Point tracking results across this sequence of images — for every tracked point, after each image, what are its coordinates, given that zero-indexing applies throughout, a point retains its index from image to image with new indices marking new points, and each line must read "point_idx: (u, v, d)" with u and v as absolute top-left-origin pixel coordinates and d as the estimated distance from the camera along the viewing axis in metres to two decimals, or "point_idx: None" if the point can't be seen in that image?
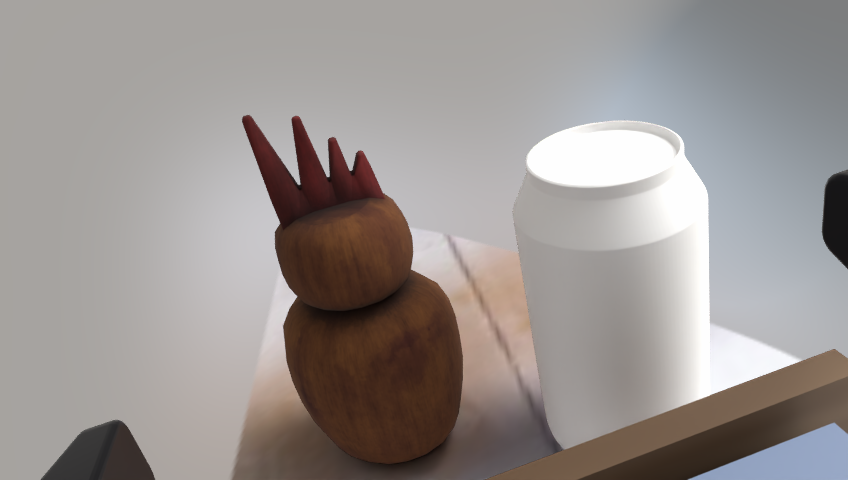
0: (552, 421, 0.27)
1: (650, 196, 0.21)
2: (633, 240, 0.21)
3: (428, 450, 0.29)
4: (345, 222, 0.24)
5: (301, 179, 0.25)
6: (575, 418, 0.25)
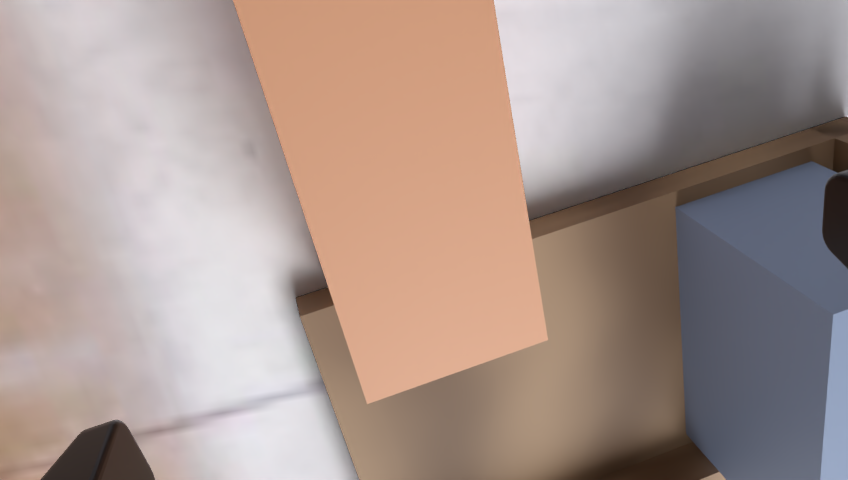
0: None
1: None
2: None
3: None
4: None
5: None
6: None
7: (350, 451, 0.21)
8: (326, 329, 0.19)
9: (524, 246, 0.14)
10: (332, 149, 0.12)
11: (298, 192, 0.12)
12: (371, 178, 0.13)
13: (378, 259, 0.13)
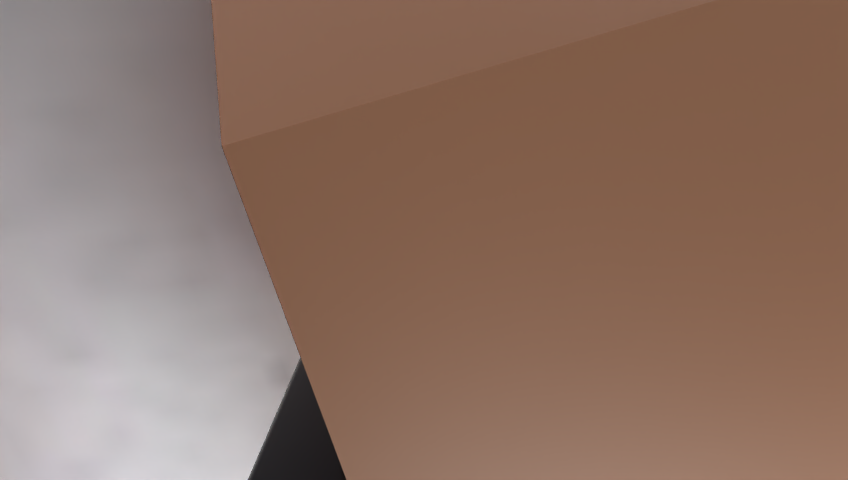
0: None
1: None
2: None
3: None
4: None
5: None
6: None
7: None
8: None
9: None
10: None
11: None
12: None
13: None
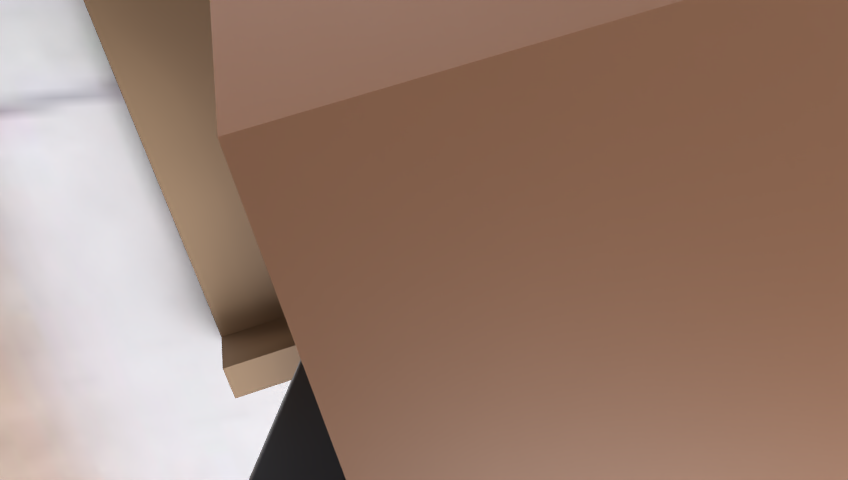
0: None
1: None
2: None
3: None
4: None
5: None
6: None
7: (155, 170, 0.17)
8: None
9: None
10: None
11: None
12: None
13: None
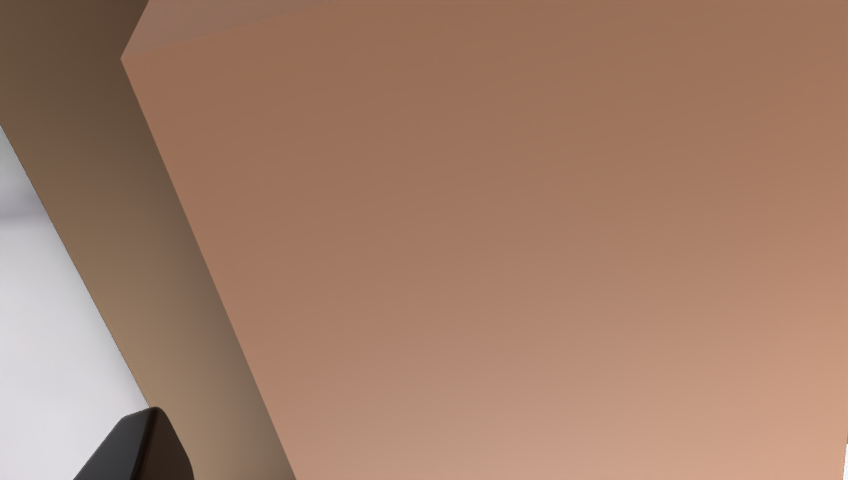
0: None
1: None
2: None
3: None
4: None
5: None
6: None
7: (117, 340, 0.10)
8: (3, 23, 0.08)
9: None
10: None
11: None
12: None
13: None
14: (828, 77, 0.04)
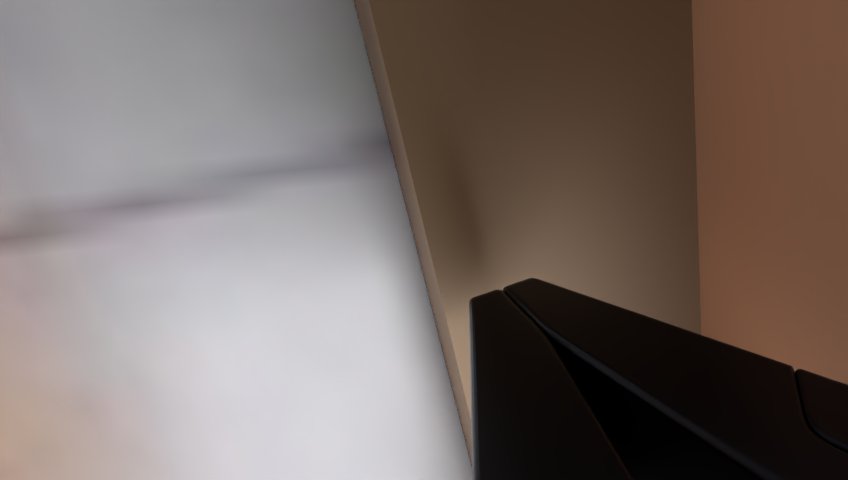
0: None
1: None
2: None
3: None
4: None
5: None
6: None
7: (446, 305, 0.09)
8: None
9: None
10: None
11: None
12: None
13: None
14: None
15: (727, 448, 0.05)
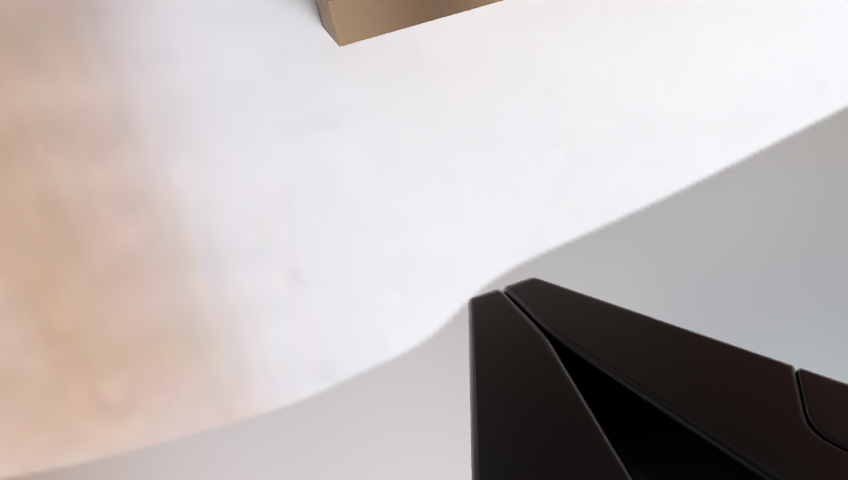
0: None
1: None
2: None
3: None
4: None
5: None
6: None
7: None
8: None
9: None
10: None
11: None
12: None
13: None
14: None
15: (727, 447, 0.05)
